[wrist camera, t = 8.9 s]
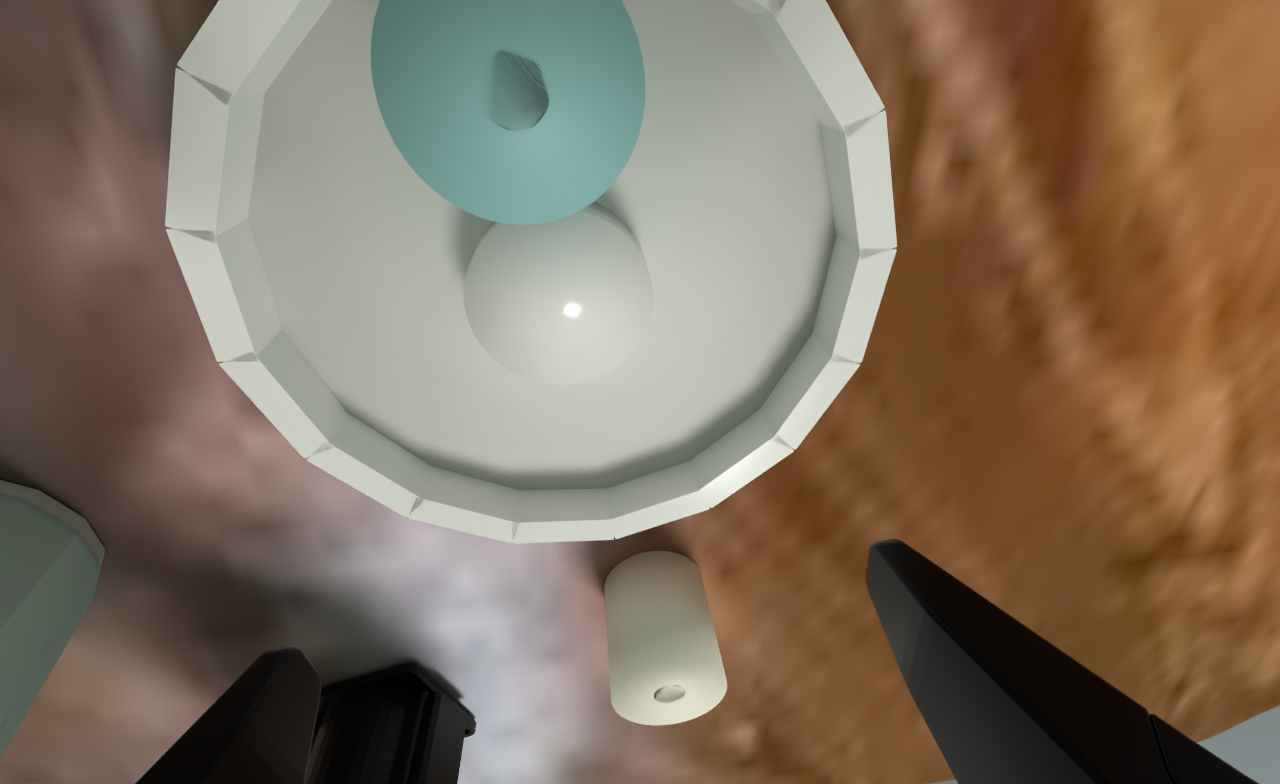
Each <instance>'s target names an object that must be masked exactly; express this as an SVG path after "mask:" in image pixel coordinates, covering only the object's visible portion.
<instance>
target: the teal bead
mask: <svg viewBox="0 0 1280 784" xmlns="http://www.w3.org/2000/svg"><path fill="white" fill-rule="evenodd" d="M371 71H372V80H373V86H374V90H375V95H376V99H377V103H378V106H379V109H380V112H381V115H382V118H383V120H384V123H385V125H386V127H387V129H388V131H389V133H390V136H391V138H392V140H393V142H394V143H395V145H396V146H397V148H398V150H399V151H400V153H401V154H402V156H403V157H404V159H405V160H406V161H407V163H408V164H409V165H410V166H411V168H412V169H413V170H414V171H415V173H416V174H417V175H418V176H419V177H420V178H421V179H422V180H423V181H424V182H425V183H426V184H427V185H428V186H429V187H430V188H432V189H433V190H434V191H435V192H437V193H438V194H439V195H440V196H441V197H443V198H444V199H446V200H447V201H449V202H450V203H452V204H454V205H455V206H457V207H458V208H460V209H463V210H465V211H467V212H469V213H471V214H473V215H476V216H478V217H481V218H484V219H487V220H490V221H495V222H500V223H504V224H515V225H534V224H542V223H547V222H553V221H556V220H559V219H562V218H565V217H568V216H570V215H572V214H574V213H576V212H578V211H580V210H582V209H584V208H585V207H587V206H588V205H590V204H591V203H593V202H594V201H595V200H596V199H598V198H599V197H600V196H601V195H602V194H603V193H605V192H606V191H607V189H608V188H609V187H610V186H611V185H612V184H613V183H614V182H615V180H616V179H617V178H618V176H619V175H620V173H621V172H622V170H623V169H624V167H625V166H626V164H627V162H628V160H629V158H630V156H631V154H632V152H633V150H634V147H635V145H636V142H637V139H638V136H639V133H640V129H641V125H642V120H643V115H644V106H645V72H644V64H643V57H642V53H641V49H640V45H639V40H638V37H637V34H636V32H635V29H634V26H633V23H632V21H631V18H630V16H629V14H628V12H627V10H626V8H625V6H624V4H623V2H622V0H380V1H379V4H378V8H377V12H376V15H375V19H374V23H373V30H372V38H371Z"/></svg>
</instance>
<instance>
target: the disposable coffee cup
mask: <svg viewBox="0 0 1280 784" xmlns="http://www.w3.org/2000/svg"><path fill="white" fill-rule="evenodd" d="M104 554H105V548H104V547H103V545H102V544H101V542H100V541H99V539H98V538H97V536H96V535H95V533H94V531H93V530H92V528H91V527H90V525H89V524H88V522H87V521H86V519H85V518H83V517H82V516H80V515H79V514H77V513H75V512H74V511H72V510H70V509H69V508H67V507H66V506H64V505H62V504H61V503H59V502H57V501H56V500H54V499H53V498H51V497H49V496H48V495H46V494H44V493H43V492H41V491H40V490H36V489H33V488H29V487H25V486H21V485H18V484H14V483H10V482H6V481H3V480H0V759H1V757H2V755H3V754H4V752H5V750H6V749H7V747H8V745H9V743H10V742H11V740H12V738H13V736H14V735H15V733H16V731H17V730H18V728H19V726H20V724H21V723H22V721H23V719H24V717H25V716H26V714H27V712H28V711H29V709H30V707H31V705H32V704H33V702H34V700H35V699H36V697H37V695H38V693H39V692H40V690H41V688H42V686H43V685H44V683H45V681H46V680H47V678H48V676H49V674H50V673H51V671H52V669H53V667H54V666H55V664H56V662H57V661H58V659H59V657H60V655H61V654H62V652H63V650H64V649H65V647H66V645H67V643H68V642H69V640H70V638H71V636H72V635H73V633H74V631H75V630H76V628H77V626H78V624H79V623H80V621H81V619H82V617H83V616H84V614H85V612H86V611H87V609H88V607H89V605H90V604H91V602H92V600H93V599H94V596H95V592H96V589H97V585H98V581H99V577H100V573H101V569H102V567H101V566H102V562H103V558H104Z"/></svg>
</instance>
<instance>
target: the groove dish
mask: <svg viewBox="0 0 1280 784" xmlns="http://www.w3.org/2000/svg"><path fill="white" fill-rule="evenodd" d="M379 1H380V0H219V1H218V3H217V4H216V6H215V7H214V9H213V10H212V12H211V13H210V15H209V16H208V18H207V19H206V21H205V22H204V24H203V25H202V27H201V28H200V30H199V31H198V33H197V34H196V36H195V37H194V39H193V41H192V42H191V44H190V45H189V47H188V48H187V50H186V51H185V53H184V54H183V56H182V57H181V59H180V60H179V62H178V63H177V65H178V66H179V67H180V68H176V70H175V85H174V100H173V115H172V130H171V145H170V160H169V175H168V190H167V205H166V220H165V226H167V227H169V228H167V229H166V231H167V234H168V237H169V239H170V242H171V244H172V247H173V249H174V252H175V255H176V257H177V260H178V262H179V265H180V267H181V270H182V273H183V275H184V278H185V280H186V283H187V285H188V288H189V291H190V293H191V296H192V298H193V301H194V303H195V306H196V309H197V311H198V314H199V316H200V319H201V321H202V324H203V327H204V329H205V332H206V334H207V337H208V340H209V342H210V345H211V347H212V350H213V352H214V355H215V358H216V360H217V362H220V363H219V365H220V366H221V367H222V368H223V369H224V371H225V372H226V373H227V374H228V375H229V376H230V377H231V378H232V379H233V381H234V382H235V383H236V384H237V385H238V386H239V387H240V388H241V389H242V390H243V392H244V393H245V394H246V395H247V396H248V397H249V398H250V399H251V400H252V402H253V403H254V404H255V405H256V406H257V407H258V408H259V409H260V410H261V412H262V413H263V414H264V415H265V416H266V417H267V418H268V419H269V420H270V421H271V423H272V424H273V425H274V426H275V427H276V428H277V429H278V430H279V431H280V433H281V434H282V435H283V436H284V437H285V438H286V439H287V440H288V441H289V442H290V444H291V445H292V446H293V447H294V448H295V449H296V450H297V451H298V452H299V454H300V455H301V456H302V457H303V458H307V457H308V458H307V461H308V462H310V463H312V464H314V465H315V466H317V467H319V468H321V469H322V470H324V471H326V472H327V473H329V474H331V475H333V476H334V477H336V478H338V479H340V480H341V481H343V482H345V483H347V484H348V485H350V486H352V487H354V488H355V489H357V490H359V491H361V492H362V493H364V494H366V495H367V496H369V497H371V498H373V499H374V500H376V501H378V502H380V503H381V504H383V505H385V506H387V507H388V508H390V509H392V510H394V511H395V512H397V513H399V514H400V515H402V516H404V517H407V516H408V515H409V517H408V519H412V520H417V521H421V522H425V523H429V524H433V525H437V526H442V527H446V528H450V529H454V530H458V531H462V532H466V533H471V534H475V535H479V536H483V537H487V538H491V539H495V540H500V541H504V542H508V543H512V541H513V544H514V543H541V542H568V541H595V540H614V537H615V539H619V538H622V537H625V536H628V535H631V534H634V533H637V532H640V531H644V530H647V529H650V528H653V527H656V526H659V525H662V524H665V523H668V522H671V521H674V520H677V519H681V518H684V517H687V516H690V515H693V514H696V513H699V512H702V511H705V510H708V509H709V506H710V507H711V508H712V507H714V506H715V505H717V504H718V503H720V502H721V501H723V500H724V499H726V498H727V497H728V496H730V495H731V494H733V493H734V492H736V491H737V490H739V489H740V488H741V487H743V486H744V485H746V484H747V483H749V482H750V481H752V480H753V479H755V478H756V477H757V476H759V475H760V474H762V473H763V472H765V471H766V470H768V469H769V468H770V467H772V466H773V465H775V464H776V463H778V462H779V461H781V460H782V459H783V458H785V457H786V456H788V455H789V454H791V453H792V452H794V450H793V449H797V447H798V446H799V445H800V443H801V442H802V441H803V439H804V438H805V437H806V435H807V434H808V433H809V432H810V430H811V429H812V428H813V426H814V425H815V424H816V422H817V421H818V420H819V418H820V417H821V416H822V414H823V413H824V412H825V411H826V409H827V408H828V407H829V405H830V404H831V403H832V401H833V400H834V399H835V397H836V396H837V395H838V393H839V392H840V391H841V390H842V388H843V387H844V386H845V384H846V383H847V382H848V380H849V379H850V378H851V376H852V375H853V374H854V372H855V371H856V370H857V369H858V367H859V366H860V364H859V363H862V359H863V356H864V353H865V350H866V347H867V343H868V340H869V337H870V334H871V331H872V327H873V324H874V321H875V318H876V315H877V311H878V308H879V305H880V302H881V298H882V295H883V292H884V289H885V286H886V282H887V279H888V276H889V273H890V270H891V266H892V263H893V260H894V257H895V253H896V250H897V249H895V247H897V240H896V228H895V216H894V204H893V192H892V180H891V168H890V156H889V144H888V132H887V120H886V110H882V109H883V108H884V105H883V103H882V101H881V100H880V98H879V96H878V94H877V92H876V90H875V89H874V87H873V85H872V83H871V81H870V80H869V78H868V76H867V74H866V72H865V71H864V69H863V67H862V65H861V63H860V62H859V60H858V58H857V56H856V54H855V52H854V51H853V49H852V47H851V45H850V43H849V42H848V40H847V38H846V36H845V34H844V33H843V31H842V29H841V27H840V25H839V24H838V22H837V20H836V18H835V16H834V14H833V13H832V11H831V9H830V7H829V5H828V4H827V2H826V0H622V2H623V4H624V6H625V8H626V10H627V12H628V14H629V16H630V18H631V21H632V23H633V26H634V29H635V32H636V34H637V37H638V40H639V45H640V49H641V53H642V57H643V64H644V72H645V106H644V115H643V120H642V125H641V129H640V133H639V136H638V139H637V142H636V145H635V147H634V150H633V152H632V154H631V156H630V158H629V160H628V162H627V164H626V166H625V167H624V169H623V170H622V172H621V173H620V175H619V176H618V178H617V179H616V180H615V182H614V183H613V184H612V185H611V186H610V187H609V188H608V189H607V191H606V192H605V193H603V194H602V195H601V196H600V197H599V198H598V199H596V200H595V201H594V202H593V203H591V204H590V205H588V206H587V207H585V208H584V209H582V210H580V211H578V212H576V213H574V214H572V215H570V216H568V217H565V218H562V219H559V220H556V221H553V222H547V223H542V224H534V225H515V224H504V223H500V222H495V221H490V220H487V219H484V218H481V217H478V216H476V215H473V214H471V213H469V212H467V211H465V210H463V209H460V208H458V207H457V206H455V205H454V204H452V203H450V202H449V201H447V200H446V199H444V198H443V197H441V196H440V195H439V194H438V193H437V192H435V191H434V190H433V189H432V188H430V187H429V186H428V185H427V184H426V183H425V182H424V181H423V180H422V179H421V178H420V177H419V176H418V175H417V174H416V173H415V171H414V170H413V169H412V168H411V166H410V165H409V164H408V163H407V161H406V160H405V159H404V157H403V156H402V154H401V153H400V151H399V150H398V148H397V146H396V145H395V143H394V142H393V140H392V138H391V136H390V133H389V131H388V129H387V127H386V125H385V123H384V120H383V118H382V115H381V112H380V109H379V106H378V103H377V99H376V95H375V90H374V86H373V80H372V71H371V38H372V30H373V23H374V19H375V15H376V12H377V8H378V4H379Z"/></svg>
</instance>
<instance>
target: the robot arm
mask: <svg viewBox="0 0 1280 784" xmlns="http://www.w3.org/2000/svg"><path fill="white" fill-rule="evenodd" d="M866 584H867V588H868V591H869V594H870V597H871V599H872V602H873V604H874V606H875V609H876V611H877V614H878V616H879V619H880V621H881V624H882V626H883V629H884V631H885V634H886V636H887V639H888V641H889V644H890V646H891V649H892V651H893V654H894V656H895V659H896V661H897V663H898V666H899V668H900V671H901V673H902V675H903V678H904V680H905V682H906V685H907V687H908V689H909V691H910V693H911V695H912V697H913V699H914V701H915V703H916V705H917V707H918V709H919V710H920V712H921V714H922V716H923V718H924V720H925V722H926V724H927V726H928V727H929V729H930V731H931V733H932V735H933V737H934V739H935V741H936V743H937V745H938V746H939V748H940V750H941V752H942V754H943V756H944V758H945V760H946V762H947V763H948V765H949V767H950V769H951V771H952V773H953V775H954V777H955V779H956V781H957V782H958V784H1259V783H1257V782H1255V781H1254V780H1252V779H1251V778H1249V777H1247V776H1246V775H1244V774H1243V773H1241V772H1240V771H1238V770H1236V769H1235V768H1234V767H1232V766H1231V765H1229V764H1228V763H1226V762H1224V761H1223V760H1222V759H1220V758H1218V757H1217V756H1215V755H1214V754H1213V753H1211V752H1210V751H1208V750H1206V749H1205V748H1203V747H1202V746H1200V745H1199V744H1197V743H1196V742H1194V741H1193V740H1191V739H1190V738H1188V737H1187V736H1186V735H1184V734H1183V733H1181V732H1180V731H1178V730H1177V729H1175V728H1174V727H1172V726H1171V725H1169V724H1168V723H1167V722H1165V721H1164V720H1162V719H1161V718H1159V717H1158V716H1156V715H1154V714H1150V715H1149V713H1148V711H1147V709H1146V708H1144V707H1143V706H1141V705H1140V704H1138V703H1137V702H1136V701H1134V700H1133V699H1131V698H1130V697H1128V696H1127V695H1125V694H1124V693H1122V692H1121V691H1120V690H1118V689H1117V688H1115V687H1114V686H1112V685H1111V684H1109V683H1108V682H1106V681H1105V680H1103V679H1102V678H1101V677H1099V676H1098V675H1096V674H1095V673H1093V672H1092V671H1090V670H1089V669H1087V668H1086V667H1085V666H1083V665H1082V664H1080V663H1079V662H1077V661H1076V660H1074V659H1073V658H1071V657H1070V656H1069V655H1067V654H1066V653H1064V652H1063V651H1061V650H1060V649H1058V648H1057V647H1055V646H1054V645H1052V644H1051V643H1050V642H1048V641H1047V640H1045V639H1044V638H1042V637H1041V636H1039V635H1038V634H1036V633H1035V632H1034V631H1032V630H1031V629H1029V628H1028V627H1026V626H1025V625H1023V624H1022V623H1020V622H1019V621H1017V620H1016V619H1015V618H1013V617H1012V616H1010V615H1009V614H1007V613H1006V612H1004V611H1003V610H1001V609H1000V608H999V607H997V606H996V605H994V604H993V603H991V602H990V601H988V600H987V599H985V598H984V597H982V596H981V595H980V594H978V593H977V592H975V591H974V590H972V589H971V588H969V587H968V586H966V585H965V584H964V583H962V582H961V581H959V580H958V579H956V578H955V577H953V576H952V575H950V574H949V573H947V572H946V571H945V570H943V569H942V568H940V567H939V566H937V565H936V564H934V563H933V562H931V561H930V560H929V559H927V558H926V557H924V556H923V555H921V554H920V553H918V552H917V551H915V550H914V549H913V548H911V547H910V546H908V545H907V544H905V543H904V542H902V541H900V540H897V539H890V540H884V541H878V542H874V543H873V544H872V545H871V546H870V549H869V556H868V563H867V571H866ZM475 728H476V722H475V720H473V719H472V718H471V717H470V716H469V715H468V714H467V713H466V712H465V711H464V710H463V709H462V708H461V707H460V706H459V705H458V704H457V703H456V702H455V701H454V700H453V699H452V698H451V697H450V696H448V695H447V694H446V693H445V692H444V691H443V690H442V689H441V688H440V687H439V686H438V685H437V684H436V683H435V682H434V681H433V680H432V679H431V678H430V677H429V676H428V675H427V674H426V673H425V672H424V671H422V670H421V669H420V668H419V667H418V666H417V665H414V664H402V665H399V666H396V667H393V668H389V669H386V670H383V671H380V672H377V673H374V674H370V675H367V676H364V677H361V678H358V679H354V680H351V681H348V682H345V683H342V684H338V685H335V686H332V687H329V688H326V689H323V690H321V679H320V676H319V674H318V672H317V671H316V669H315V668H314V667H313V665H312V664H311V662H310V661H309V660H308V658H307V657H306V656H305V654H304V653H303V652H302V650H301V649H300V648H299V647H297V646H286V647H280V648H274V649H271V650H268V651H266V652H265V653H263V654H262V655H261V656H260V657H259V658H258V659H257V660H256V661H255V662H254V663H253V664H252V665H251V666H250V667H249V668H248V669H247V670H246V671H245V672H244V673H243V674H242V675H241V676H240V677H239V678H238V679H237V680H236V681H235V682H234V683H233V684H232V685H231V686H230V687H229V688H228V689H227V690H226V691H225V693H224V694H223V695H222V696H221V697H220V698H219V699H218V700H217V701H216V702H215V703H214V704H213V705H212V706H211V707H210V708H209V709H208V710H207V711H206V712H205V713H204V714H203V715H202V716H201V717H200V718H199V719H198V720H197V721H196V722H195V723H194V724H193V725H192V726H191V727H190V728H189V729H188V730H187V731H186V732H185V733H184V734H183V735H182V736H181V737H180V738H179V740H178V741H177V742H176V743H175V744H174V745H173V746H172V747H171V748H170V749H169V750H168V751H167V752H166V753H165V754H164V755H163V756H162V757H161V758H160V759H159V760H158V761H157V762H156V763H155V764H154V765H153V766H152V767H151V768H150V769H149V770H148V771H147V772H146V773H145V774H144V775H143V776H142V777H141V778H140V779H139V780H138V781H137V782H136V783H135V784H457V781H458V775H459V768H460V761H461V754H462V748H463V741H464V738H465V737H468V736H471V735H473V734H474V733H475Z"/></svg>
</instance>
